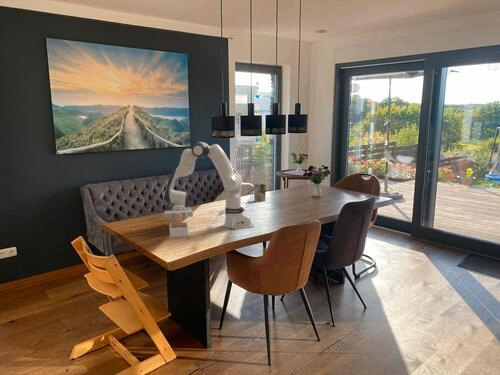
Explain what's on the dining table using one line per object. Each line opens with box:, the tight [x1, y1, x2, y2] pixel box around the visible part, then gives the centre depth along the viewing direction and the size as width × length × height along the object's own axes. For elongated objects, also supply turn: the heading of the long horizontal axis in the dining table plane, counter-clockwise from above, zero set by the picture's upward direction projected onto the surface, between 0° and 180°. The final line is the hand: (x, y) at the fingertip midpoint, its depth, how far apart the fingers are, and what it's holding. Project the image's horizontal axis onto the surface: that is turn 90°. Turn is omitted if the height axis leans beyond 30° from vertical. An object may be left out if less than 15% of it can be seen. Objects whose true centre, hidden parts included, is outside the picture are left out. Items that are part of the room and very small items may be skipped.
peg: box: [175, 213, 183, 228], centre depth 265 cm, size 4×4×14 cm
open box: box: [169, 222, 189, 239], centre depth 266 cm, size 12×12×7 cm
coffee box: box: [253, 183, 266, 203], centre depth 364 cm, size 9×6×16 cm
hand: (178, 216), depth 266 cm, fingers open, 8 cm apart
